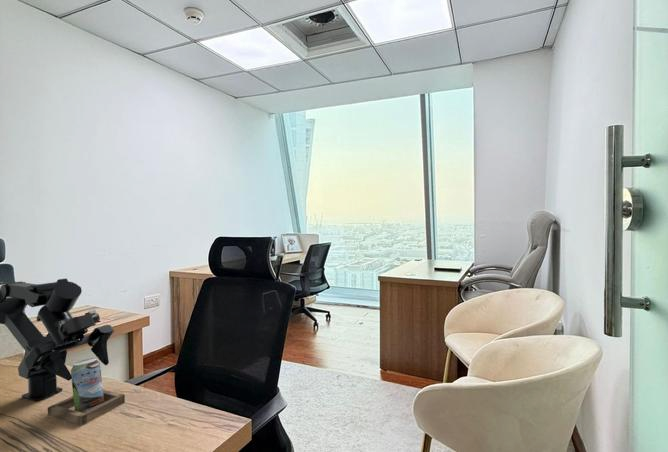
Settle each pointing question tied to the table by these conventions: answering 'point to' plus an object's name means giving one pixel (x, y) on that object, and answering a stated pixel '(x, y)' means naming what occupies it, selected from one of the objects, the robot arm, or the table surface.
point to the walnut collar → (80, 418)
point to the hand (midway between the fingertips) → (89, 371)
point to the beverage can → (87, 384)
